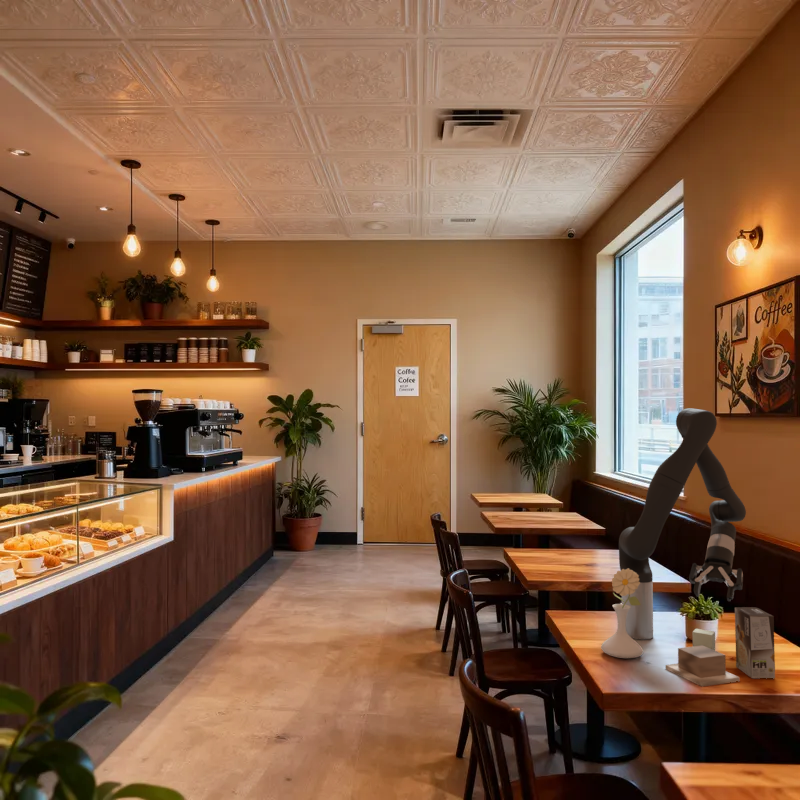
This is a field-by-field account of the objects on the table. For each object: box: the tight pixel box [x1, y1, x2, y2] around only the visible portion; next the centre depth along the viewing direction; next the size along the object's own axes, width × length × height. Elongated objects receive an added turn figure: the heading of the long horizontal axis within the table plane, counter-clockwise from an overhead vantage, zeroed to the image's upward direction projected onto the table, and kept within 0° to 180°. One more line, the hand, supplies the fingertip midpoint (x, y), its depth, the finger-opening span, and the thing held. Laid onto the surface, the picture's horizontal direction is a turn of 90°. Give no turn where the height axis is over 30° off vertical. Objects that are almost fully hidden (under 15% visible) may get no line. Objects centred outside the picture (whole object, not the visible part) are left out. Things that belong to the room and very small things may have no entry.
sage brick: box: [691, 628, 716, 651], centre depth 184 cm, size 5×4×8 cm
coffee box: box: [734, 606, 776, 680], centre depth 175 cm, size 9×6×16 cm
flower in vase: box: [600, 568, 644, 659], centre depth 188 cm, size 13×11×25 cm
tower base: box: [665, 645, 741, 687], centre depth 173 cm, size 13×12×6 cm
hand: (712, 597), depth 194 cm, fingers open, 8 cm apart
